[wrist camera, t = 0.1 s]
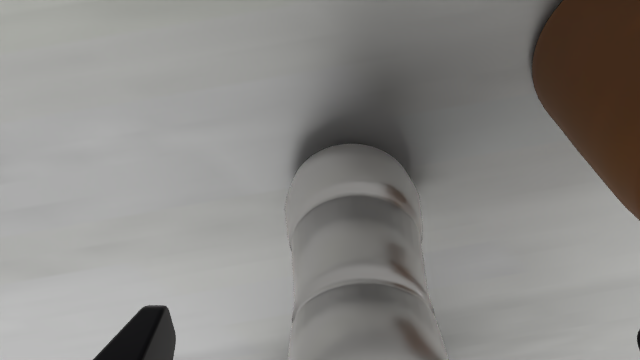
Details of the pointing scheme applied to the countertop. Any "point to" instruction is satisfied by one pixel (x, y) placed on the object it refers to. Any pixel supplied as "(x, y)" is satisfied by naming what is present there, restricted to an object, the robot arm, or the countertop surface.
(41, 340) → the countertop surface
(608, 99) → the mug
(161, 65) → the countertop surface
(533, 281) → the countertop surface
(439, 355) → the plastic bottle
